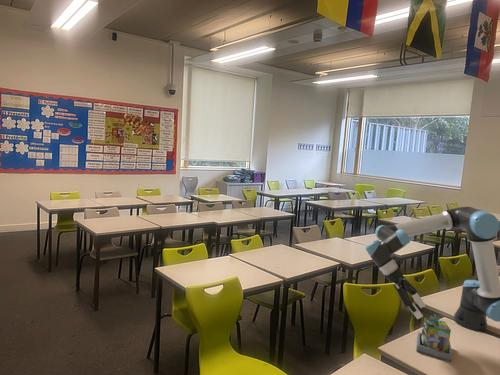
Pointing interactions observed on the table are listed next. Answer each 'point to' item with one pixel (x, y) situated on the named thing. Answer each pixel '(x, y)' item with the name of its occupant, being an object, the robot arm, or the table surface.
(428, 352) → the tray
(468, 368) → the table surface
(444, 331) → the chalk box
